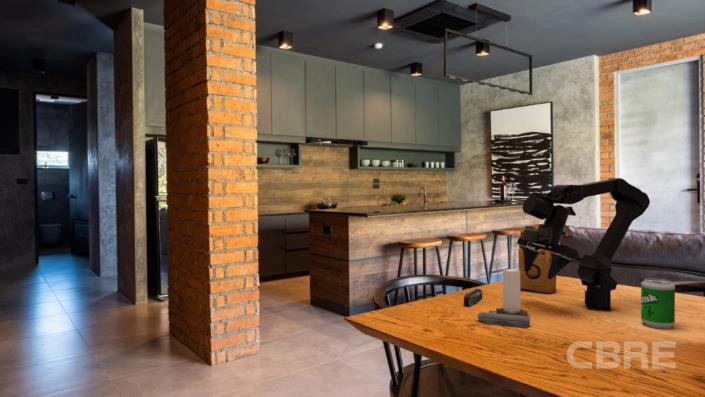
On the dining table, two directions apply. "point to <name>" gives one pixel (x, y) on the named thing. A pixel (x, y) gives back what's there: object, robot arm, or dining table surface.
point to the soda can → (658, 303)
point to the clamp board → (507, 323)
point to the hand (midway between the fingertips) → (537, 275)
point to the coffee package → (537, 272)
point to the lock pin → (511, 290)
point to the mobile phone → (472, 298)
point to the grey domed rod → (504, 317)
